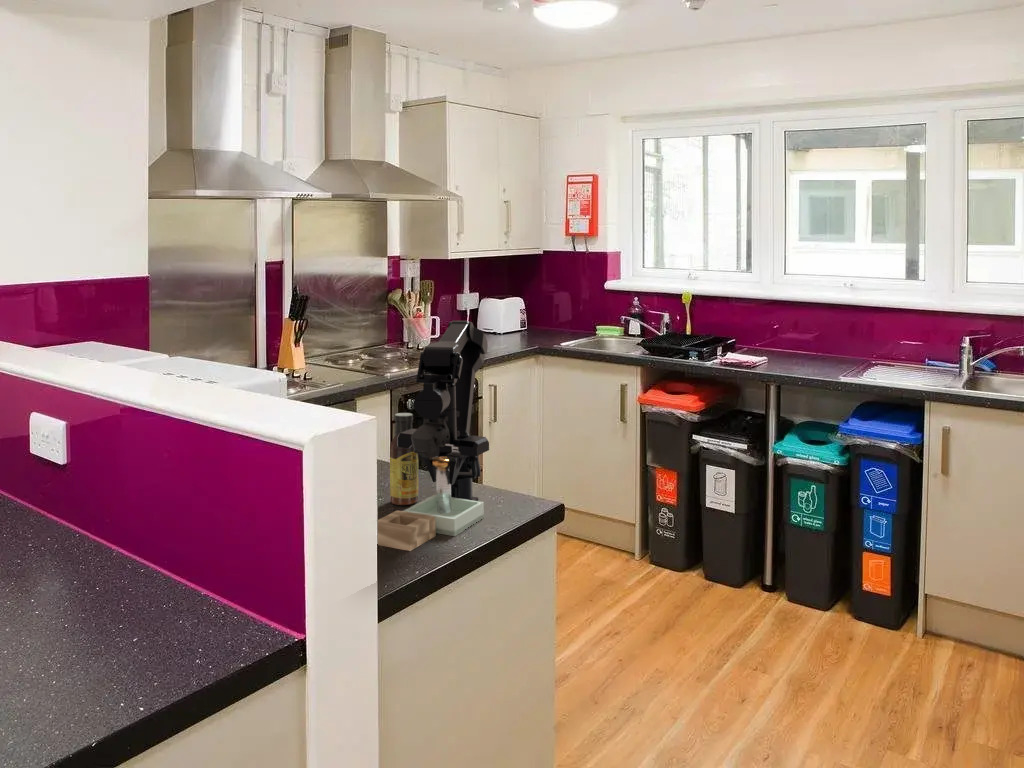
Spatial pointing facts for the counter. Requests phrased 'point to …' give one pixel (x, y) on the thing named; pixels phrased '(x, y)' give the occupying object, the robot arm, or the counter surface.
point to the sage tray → (451, 514)
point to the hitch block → (405, 530)
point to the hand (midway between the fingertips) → (443, 482)
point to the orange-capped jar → (442, 484)
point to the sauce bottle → (403, 465)
